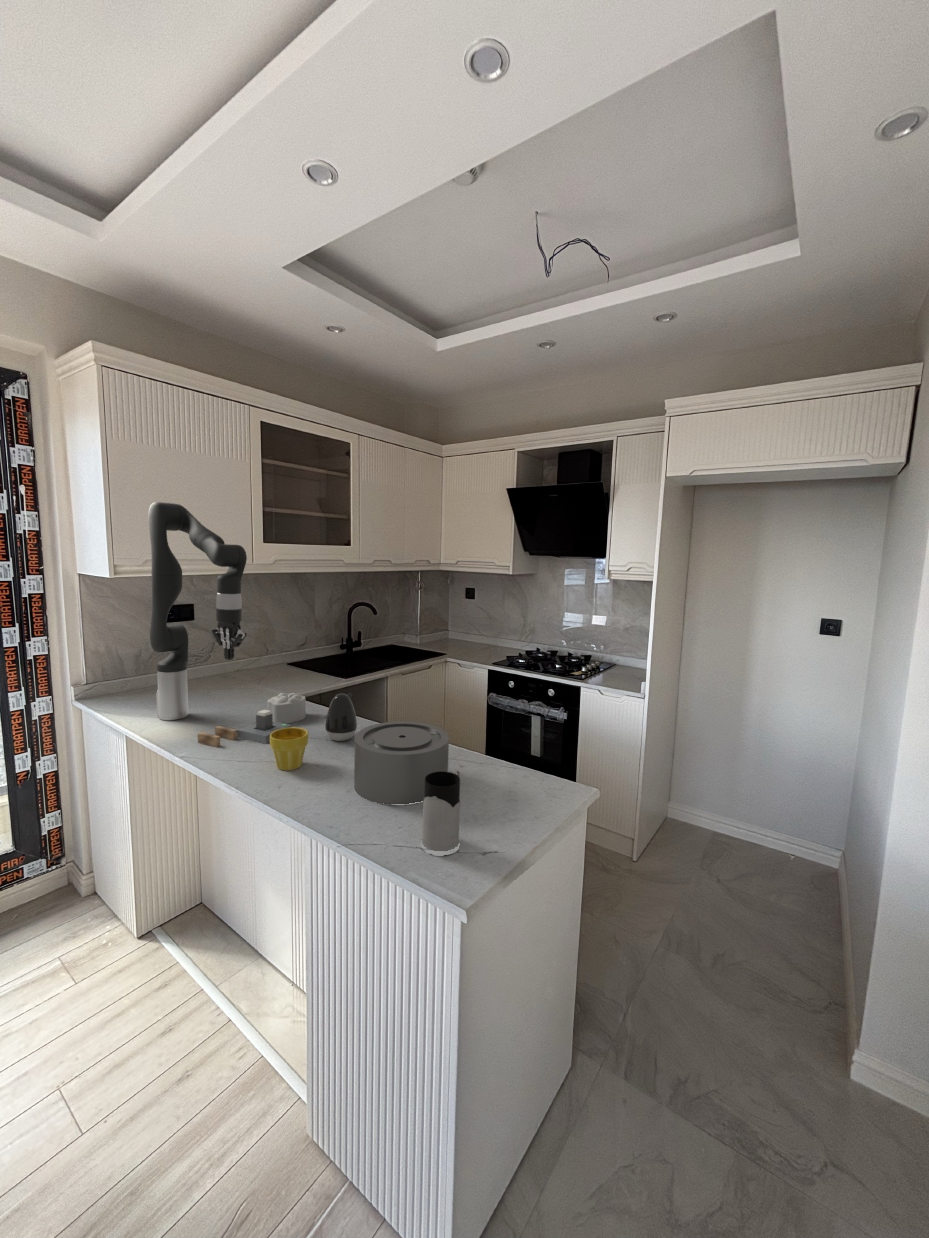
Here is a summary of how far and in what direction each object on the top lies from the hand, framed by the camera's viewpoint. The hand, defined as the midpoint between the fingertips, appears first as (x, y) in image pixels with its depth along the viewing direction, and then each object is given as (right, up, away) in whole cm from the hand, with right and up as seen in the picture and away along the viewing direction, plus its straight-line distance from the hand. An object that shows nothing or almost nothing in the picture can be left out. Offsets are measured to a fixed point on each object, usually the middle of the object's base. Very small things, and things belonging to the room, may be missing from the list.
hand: (229, 659), depth 171 cm
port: (+11, -25, +3) cm, 28 cm away
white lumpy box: (+12, -23, +20) cm, 33 cm away
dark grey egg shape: (+36, -27, +2) cm, 45 cm away
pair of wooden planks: (-2, -26, -4) cm, 26 cm away
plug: (+11, -25, +3) cm, 28 cm away
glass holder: (+73, -35, -56) cm, 98 cm away
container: (+60, -32, -29) cm, 74 cm away
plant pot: (+27, -29, -21) cm, 45 cm away
